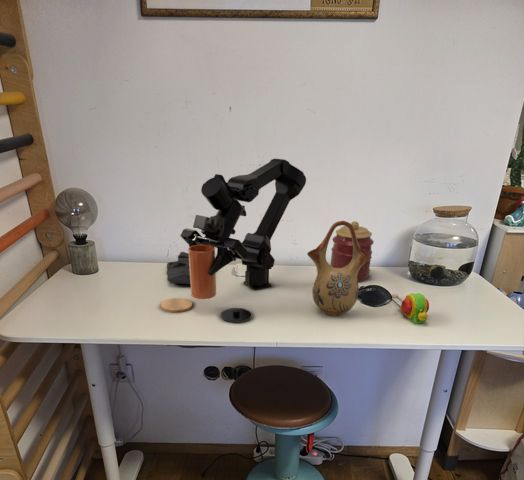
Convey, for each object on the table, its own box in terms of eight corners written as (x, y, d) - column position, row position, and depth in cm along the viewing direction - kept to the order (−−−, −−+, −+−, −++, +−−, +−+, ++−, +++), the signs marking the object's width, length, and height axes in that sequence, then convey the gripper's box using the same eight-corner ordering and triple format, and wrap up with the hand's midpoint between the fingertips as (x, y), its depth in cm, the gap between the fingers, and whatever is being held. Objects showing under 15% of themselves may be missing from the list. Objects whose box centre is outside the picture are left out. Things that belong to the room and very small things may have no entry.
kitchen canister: (375, 281, 150) (383, 225, 141) (337, 283, 147) (343, 227, 138) (359, 268, 161) (365, 216, 152) (323, 270, 158) (328, 217, 149)
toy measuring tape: (411, 327, 120) (416, 303, 117) (382, 298, 137) (386, 276, 134) (434, 326, 121) (439, 302, 118) (403, 297, 138) (407, 276, 135)
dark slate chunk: (160, 287, 140) (158, 272, 138) (168, 264, 159) (167, 250, 157) (211, 287, 141) (211, 272, 139) (213, 264, 160) (213, 250, 158)
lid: (241, 308, 128) (241, 302, 128) (257, 319, 123) (257, 312, 122) (215, 314, 125) (215, 307, 124) (230, 325, 119) (230, 319, 118)
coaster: (184, 298, 134) (184, 296, 133) (197, 308, 128) (196, 306, 127) (156, 303, 130) (156, 301, 129) (168, 314, 124) (167, 312, 123)
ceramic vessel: (302, 318, 123) (309, 223, 111) (303, 305, 131) (309, 215, 119) (365, 322, 122) (379, 226, 110) (361, 308, 130) (374, 217, 118)
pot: (199, 288, 128) (197, 243, 122) (220, 292, 125) (219, 246, 119) (186, 296, 122) (183, 250, 116) (208, 300, 120) (206, 253, 114)
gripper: (182, 196, 120) (155, 248, 118) (240, 207, 111) (211, 263, 108) (204, 221, 130) (179, 270, 127) (259, 233, 120) (233, 285, 118)
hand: (199, 272), depth 120 cm, fingers closed on pot, 7 cm apart
